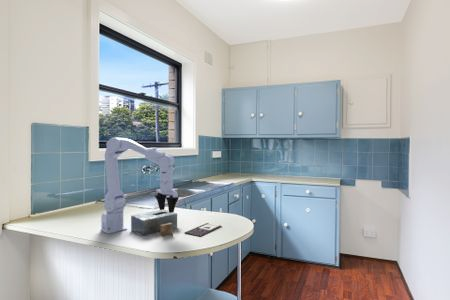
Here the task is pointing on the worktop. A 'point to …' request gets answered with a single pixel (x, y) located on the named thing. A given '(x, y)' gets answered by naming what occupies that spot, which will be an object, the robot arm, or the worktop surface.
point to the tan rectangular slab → (166, 229)
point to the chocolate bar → (203, 229)
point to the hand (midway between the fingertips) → (166, 210)
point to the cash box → (152, 221)
